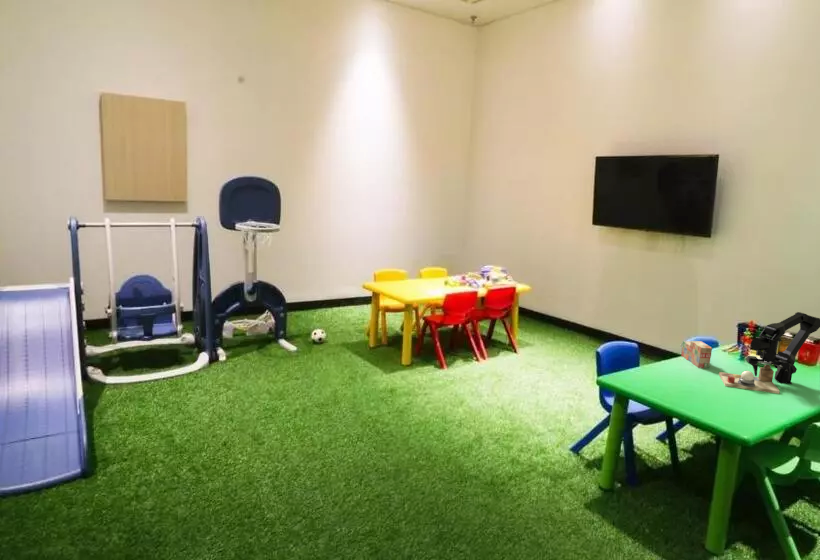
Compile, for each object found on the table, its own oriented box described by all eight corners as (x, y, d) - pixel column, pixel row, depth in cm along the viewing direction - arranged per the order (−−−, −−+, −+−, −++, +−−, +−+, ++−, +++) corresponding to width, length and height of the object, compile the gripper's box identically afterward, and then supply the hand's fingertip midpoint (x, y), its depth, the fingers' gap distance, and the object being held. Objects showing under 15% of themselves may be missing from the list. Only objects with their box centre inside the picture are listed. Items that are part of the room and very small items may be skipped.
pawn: (769, 379, 286) (771, 363, 285) (772, 382, 282) (774, 366, 280) (758, 377, 288) (761, 362, 286) (760, 380, 283) (763, 365, 282)
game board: (769, 381, 287) (770, 373, 286) (779, 394, 270) (780, 385, 269) (718, 374, 295) (719, 366, 294) (725, 386, 278) (726, 378, 277)
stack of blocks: (680, 355, 326) (683, 336, 324) (691, 356, 326) (693, 336, 324) (698, 368, 305) (701, 347, 303) (709, 368, 305) (712, 347, 303)
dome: (752, 380, 280) (754, 370, 279) (755, 384, 274) (757, 374, 273) (737, 378, 282) (739, 368, 281) (740, 382, 276) (742, 372, 275)
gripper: (786, 347, 286) (781, 375, 289) (746, 342, 292) (742, 369, 295) (793, 353, 275) (788, 382, 278) (751, 348, 282) (746, 376, 285)
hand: (765, 377), depth 284 cm, fingers open, 9 cm apart
